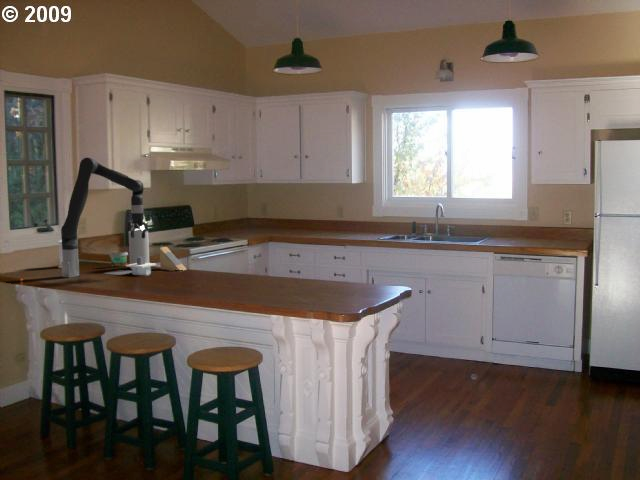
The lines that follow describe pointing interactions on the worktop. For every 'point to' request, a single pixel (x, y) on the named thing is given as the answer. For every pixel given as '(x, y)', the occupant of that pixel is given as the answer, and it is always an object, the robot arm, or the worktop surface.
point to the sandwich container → (169, 260)
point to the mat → (119, 272)
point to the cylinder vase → (138, 247)
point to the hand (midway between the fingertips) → (138, 238)
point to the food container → (118, 259)
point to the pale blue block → (141, 271)
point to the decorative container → (60, 253)
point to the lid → (141, 263)
